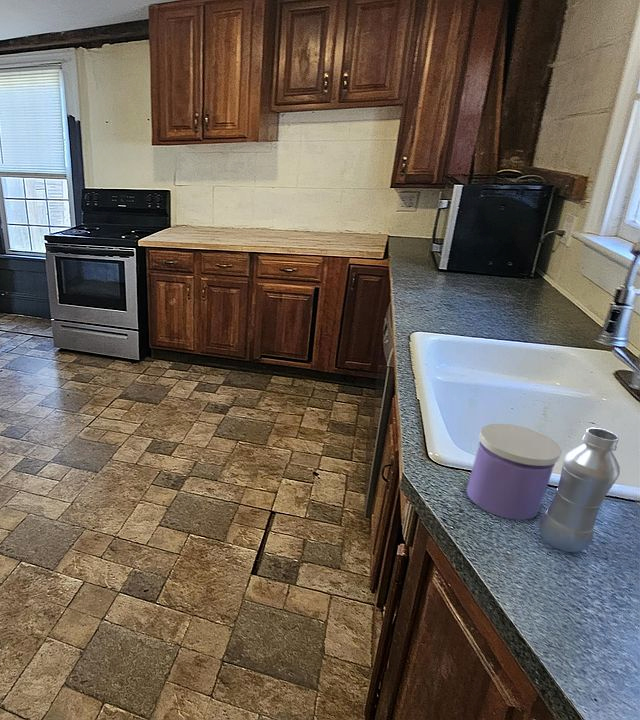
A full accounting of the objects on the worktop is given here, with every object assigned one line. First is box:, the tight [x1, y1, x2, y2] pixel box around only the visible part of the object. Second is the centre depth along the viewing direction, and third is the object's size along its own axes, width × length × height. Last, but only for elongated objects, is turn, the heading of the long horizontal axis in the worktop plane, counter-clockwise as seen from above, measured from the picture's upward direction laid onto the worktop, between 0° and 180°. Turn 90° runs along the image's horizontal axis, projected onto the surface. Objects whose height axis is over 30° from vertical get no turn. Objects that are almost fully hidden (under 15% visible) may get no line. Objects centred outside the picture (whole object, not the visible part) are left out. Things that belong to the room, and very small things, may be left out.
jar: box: [465, 423, 562, 521], centre depth 92 cm, size 12×12×12 cm
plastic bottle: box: [538, 427, 621, 553], centre depth 80 cm, size 6×7×20 cm
